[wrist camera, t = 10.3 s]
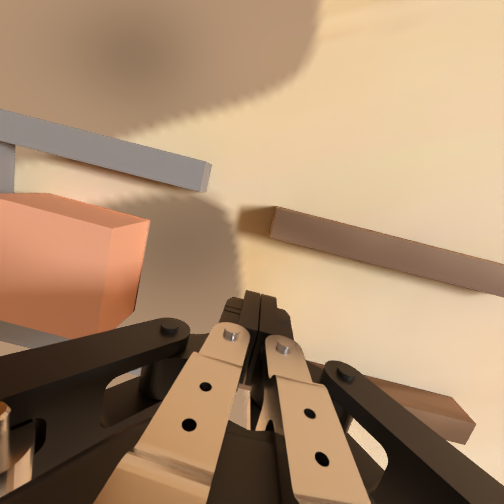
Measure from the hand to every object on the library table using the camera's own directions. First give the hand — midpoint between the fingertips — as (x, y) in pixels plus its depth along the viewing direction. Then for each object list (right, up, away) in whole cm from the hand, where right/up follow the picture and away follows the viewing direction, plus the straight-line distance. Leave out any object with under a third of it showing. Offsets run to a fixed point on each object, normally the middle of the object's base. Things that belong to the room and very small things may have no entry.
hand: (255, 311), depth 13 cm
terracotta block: (-10, +3, +3) cm, 11 cm away
